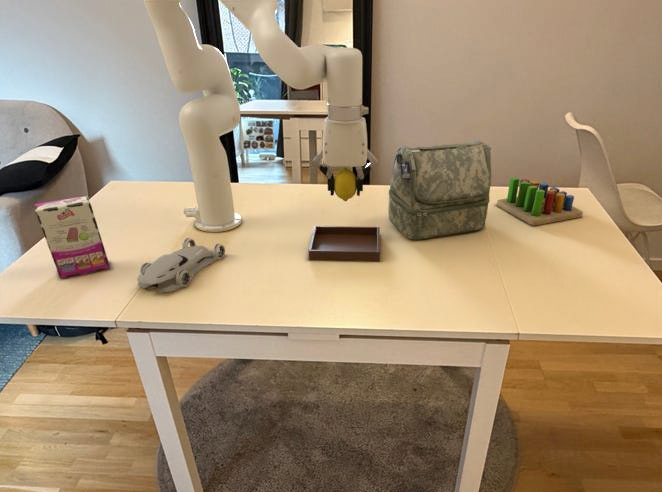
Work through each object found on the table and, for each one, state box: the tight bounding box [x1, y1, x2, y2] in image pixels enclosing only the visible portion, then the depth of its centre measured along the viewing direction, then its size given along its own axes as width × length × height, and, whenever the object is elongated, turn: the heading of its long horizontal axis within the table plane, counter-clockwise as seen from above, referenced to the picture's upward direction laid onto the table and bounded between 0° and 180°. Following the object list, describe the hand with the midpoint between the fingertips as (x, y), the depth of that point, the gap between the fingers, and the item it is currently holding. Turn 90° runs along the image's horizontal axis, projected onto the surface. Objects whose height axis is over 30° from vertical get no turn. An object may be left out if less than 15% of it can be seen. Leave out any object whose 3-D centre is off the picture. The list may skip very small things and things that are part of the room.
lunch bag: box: [387, 140, 492, 240], centre depth 143 cm, size 26×18×22 cm
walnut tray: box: [308, 225, 381, 263], centre depth 138 cm, size 17×15×2 cm
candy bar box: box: [34, 195, 111, 280], centre depth 123 cm, size 11×5×16 cm, turn 118°
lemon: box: [334, 167, 357, 202], centre depth 129 cm, size 6×6×8 cm
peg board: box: [496, 176, 584, 226], centre depth 156 cm, size 18×17×9 cm
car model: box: [136, 237, 226, 293], centre depth 126 cm, size 11×24×5 cm, turn 158°
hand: (345, 193), depth 130 cm, fingers closed on lemon, 5 cm apart
